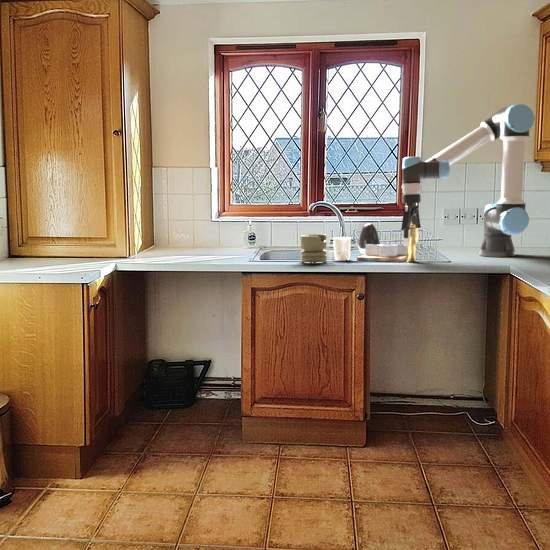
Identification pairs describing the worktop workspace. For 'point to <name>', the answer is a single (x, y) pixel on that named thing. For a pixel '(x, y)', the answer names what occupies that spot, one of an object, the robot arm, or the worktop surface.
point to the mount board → (383, 258)
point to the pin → (411, 244)
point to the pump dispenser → (368, 237)
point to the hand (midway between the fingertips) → (411, 244)
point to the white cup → (342, 248)
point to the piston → (313, 248)
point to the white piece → (386, 250)
